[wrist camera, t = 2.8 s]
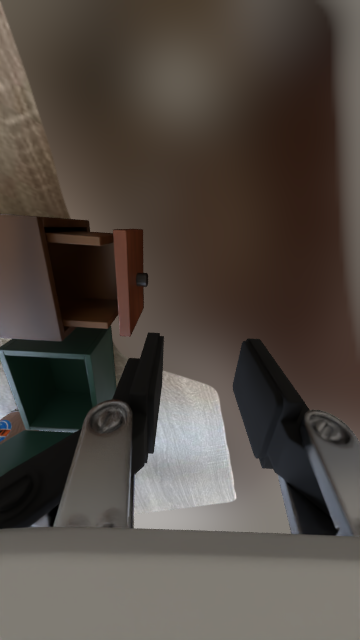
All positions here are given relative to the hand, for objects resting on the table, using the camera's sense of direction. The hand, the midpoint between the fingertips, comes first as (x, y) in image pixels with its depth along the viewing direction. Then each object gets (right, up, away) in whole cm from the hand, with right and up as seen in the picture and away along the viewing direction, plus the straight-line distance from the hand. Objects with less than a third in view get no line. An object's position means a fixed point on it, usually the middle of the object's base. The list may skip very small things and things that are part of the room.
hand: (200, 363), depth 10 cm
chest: (-18, -5, +26) cm, 32 cm away
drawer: (-12, +9, +18) cm, 24 cm away
